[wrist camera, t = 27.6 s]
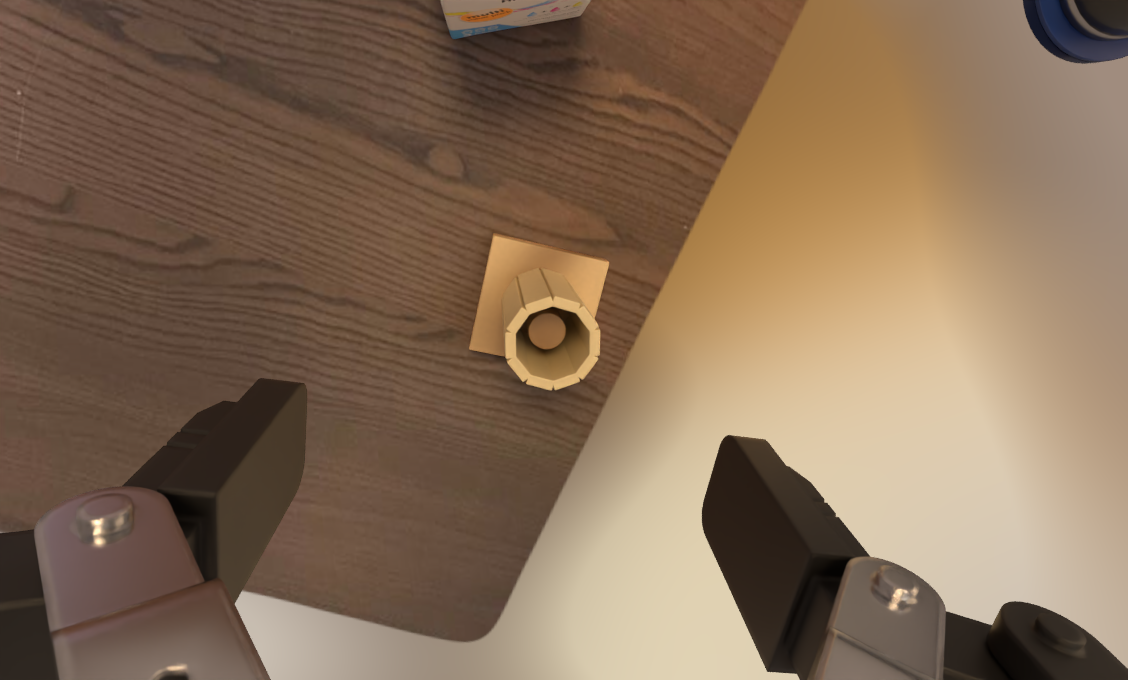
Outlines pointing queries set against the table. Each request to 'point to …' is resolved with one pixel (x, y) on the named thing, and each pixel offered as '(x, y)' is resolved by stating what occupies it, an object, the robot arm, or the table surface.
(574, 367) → the slatted wooden tube
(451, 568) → the table surface
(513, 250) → the tape stand
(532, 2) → the ink box
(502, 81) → the table surface
